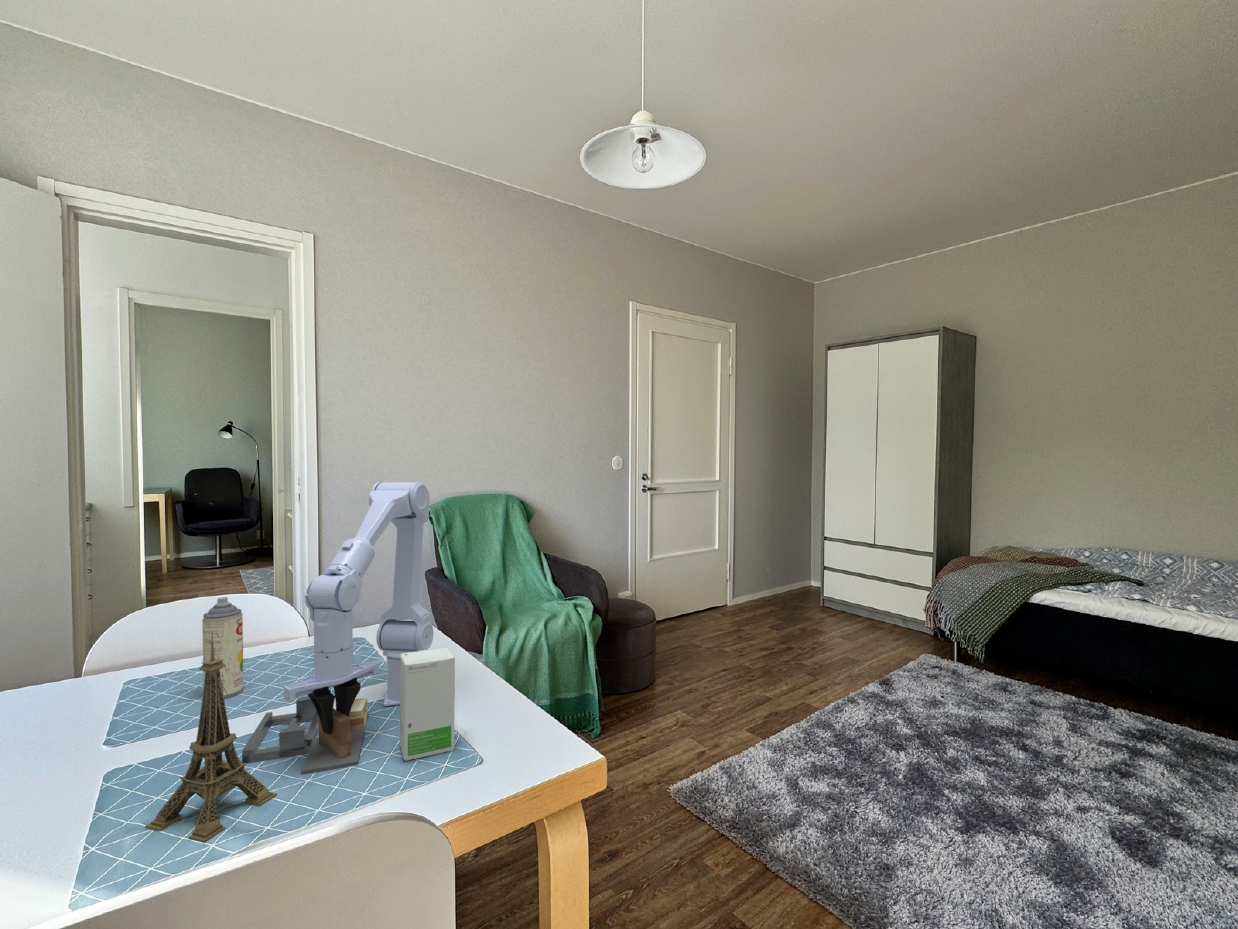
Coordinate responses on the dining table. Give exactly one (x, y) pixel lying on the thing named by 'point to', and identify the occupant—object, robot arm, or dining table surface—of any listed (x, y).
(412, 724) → the skincare box
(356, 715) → the offcut stack
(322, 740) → the walnut sheet
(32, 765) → the dining table surface
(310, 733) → the rack
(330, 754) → the mat
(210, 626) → the aerosol can
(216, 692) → the eiffel tower
